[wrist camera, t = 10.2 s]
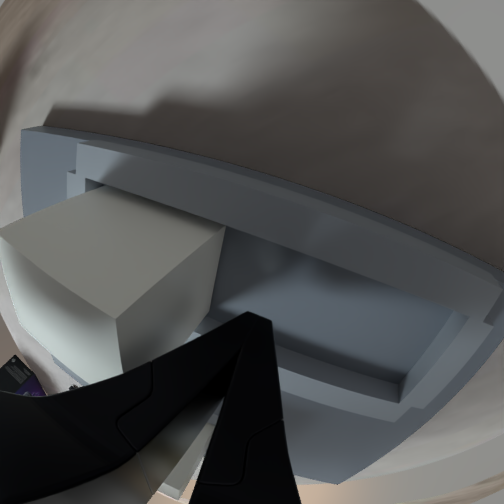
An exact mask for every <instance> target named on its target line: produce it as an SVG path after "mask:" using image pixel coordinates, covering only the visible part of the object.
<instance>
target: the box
mask: <svg viewBox="0 0 504 504" xmlns="http://www.w3.org/2000/svg"><path fill="white" fill-rule="evenodd" d="M0 390H1V391H5V392H10V393H15V394H20V395H25V396H47V395H46V394H45V392H44V390H43V388H42V386H41V385H40V383H39V381H38V379H37V378H36V376H35V374H34V373H33V372H32V371H31V370H30V369H29V368H28V367H27V366H26V365H25V364H24V363H23V362H22V361H21V360H20V359H19V358H18V357H17V356H16V355H14V356H13V357H12V358H11V359H10V360H9V361H8V362H7V363H6V364H4V365H3V366H2V367H1V368H0Z"/></svg>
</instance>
